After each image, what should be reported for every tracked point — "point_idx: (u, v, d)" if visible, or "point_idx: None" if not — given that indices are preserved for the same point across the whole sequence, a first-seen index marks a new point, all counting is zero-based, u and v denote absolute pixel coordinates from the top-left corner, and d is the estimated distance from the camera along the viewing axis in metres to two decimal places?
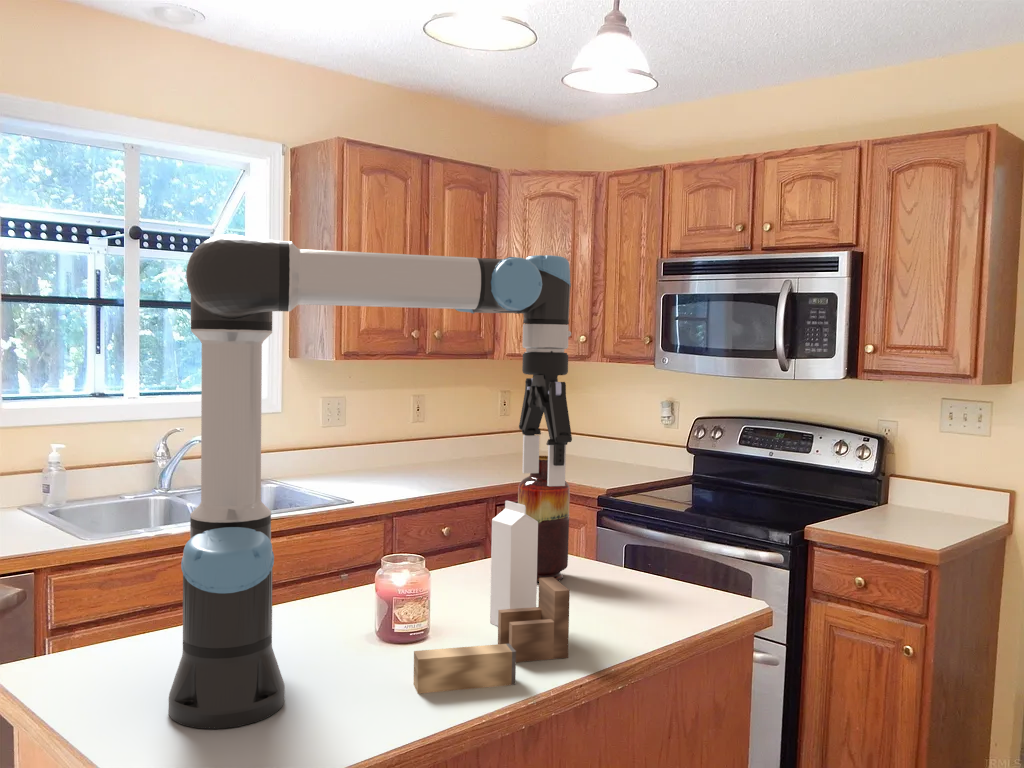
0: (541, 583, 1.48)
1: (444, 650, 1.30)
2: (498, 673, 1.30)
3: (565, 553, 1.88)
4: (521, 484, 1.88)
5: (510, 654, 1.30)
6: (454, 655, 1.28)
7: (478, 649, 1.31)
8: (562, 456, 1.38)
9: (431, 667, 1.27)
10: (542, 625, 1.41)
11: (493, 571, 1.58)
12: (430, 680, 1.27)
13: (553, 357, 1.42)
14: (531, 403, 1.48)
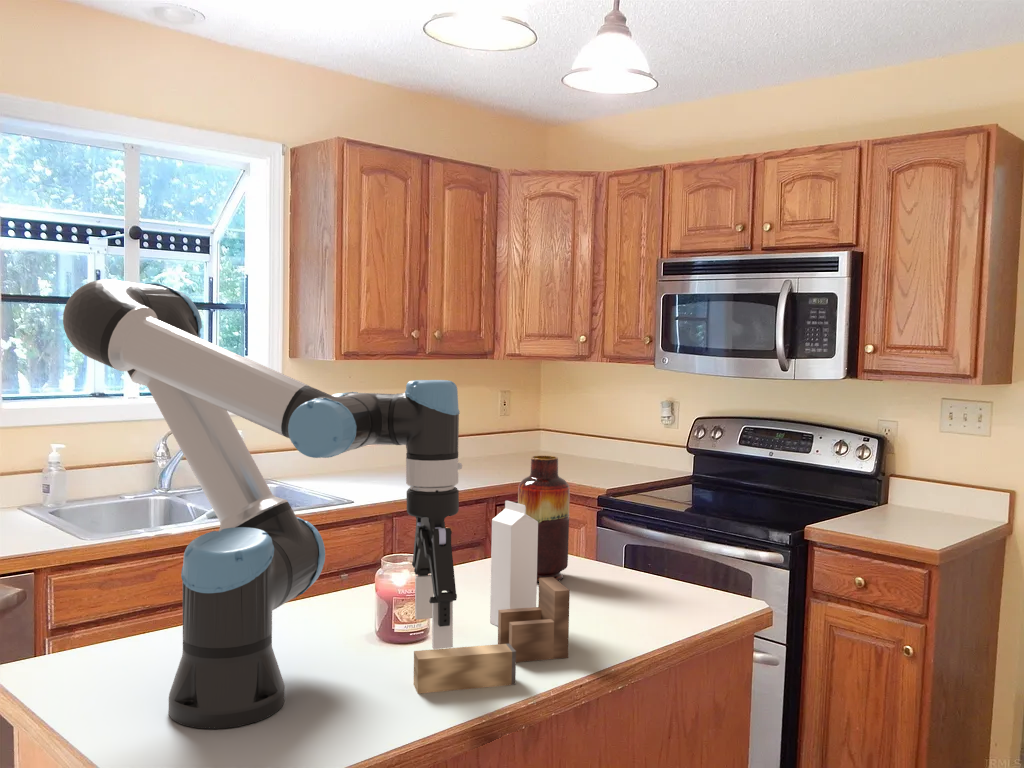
0: (541, 583, 1.48)
1: (444, 650, 1.30)
2: (498, 673, 1.30)
3: (565, 553, 1.88)
4: (521, 484, 1.88)
5: (510, 654, 1.30)
6: (454, 655, 1.28)
7: (478, 649, 1.31)
8: (447, 615, 1.20)
9: (431, 667, 1.27)
10: (542, 625, 1.41)
11: (493, 572, 1.58)
12: (430, 680, 1.27)
13: (439, 497, 1.24)
14: (419, 544, 1.30)
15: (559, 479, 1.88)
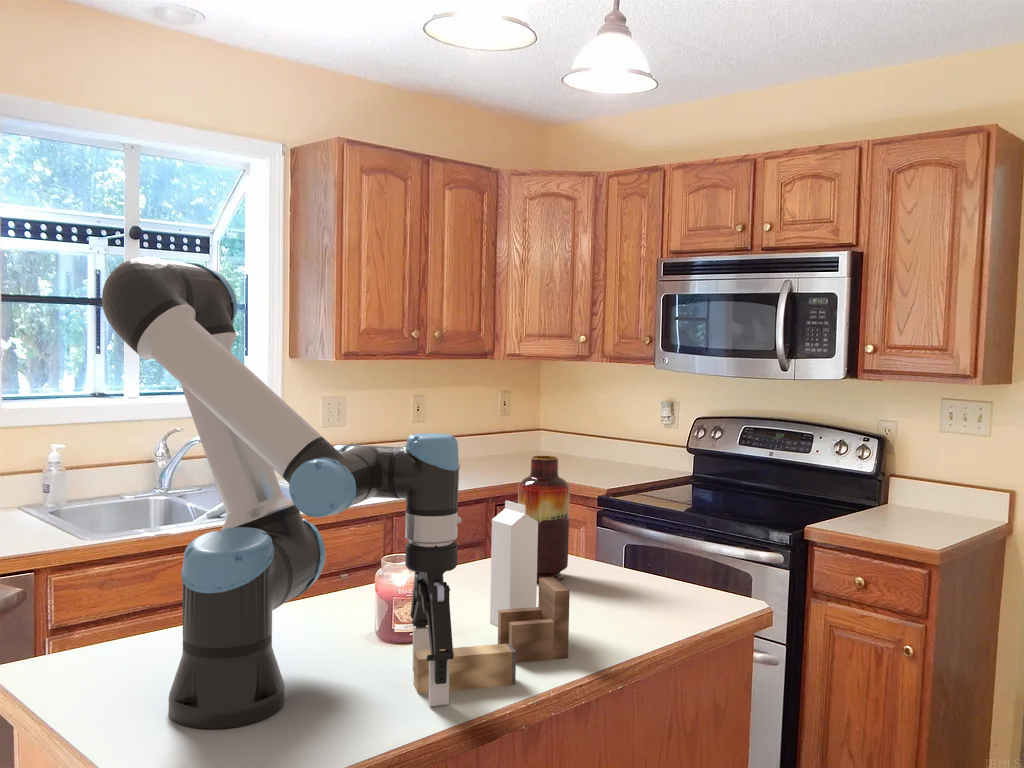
0: (541, 583, 1.48)
1: (444, 650, 1.30)
2: (498, 673, 1.30)
3: (565, 553, 1.88)
4: (521, 484, 1.88)
5: (510, 654, 1.30)
6: (454, 655, 1.28)
7: (478, 649, 1.31)
8: (444, 673, 1.21)
9: None
10: (542, 625, 1.41)
11: (493, 571, 1.58)
12: None
13: (438, 553, 1.24)
14: (418, 597, 1.30)
15: (559, 479, 1.88)
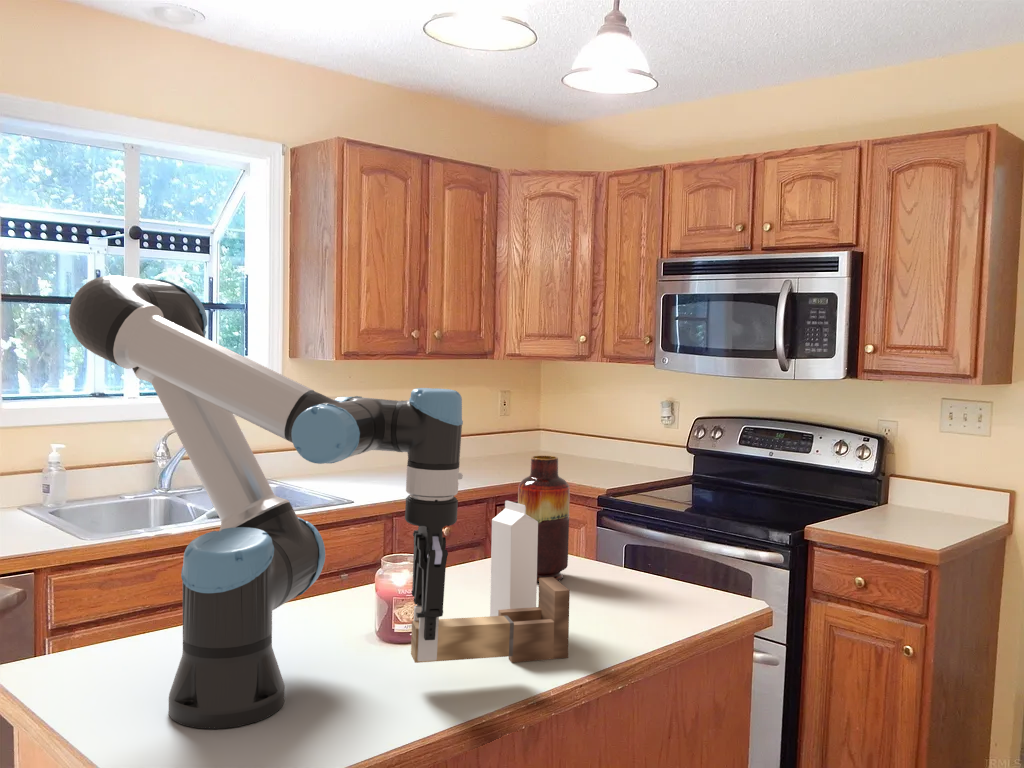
0: (541, 583, 1.48)
1: (442, 620, 1.30)
2: (495, 644, 1.30)
3: (565, 553, 1.88)
4: (521, 484, 1.88)
5: (508, 625, 1.30)
6: (452, 625, 1.28)
7: (476, 620, 1.31)
8: (433, 630, 1.25)
9: None
10: (542, 625, 1.41)
11: (493, 571, 1.58)
12: None
13: (438, 507, 1.24)
14: (417, 556, 1.29)
15: (559, 479, 1.88)
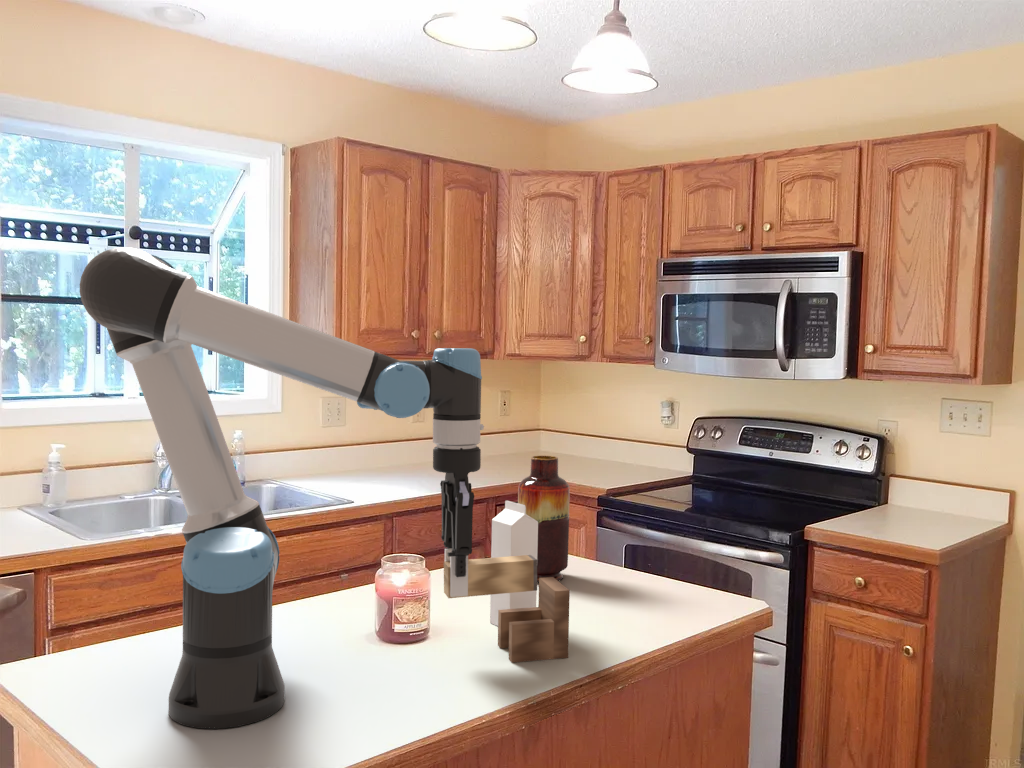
0: (541, 583, 1.48)
1: (471, 560, 1.42)
2: (521, 579, 1.42)
3: (565, 553, 1.88)
4: (521, 484, 1.88)
5: (532, 562, 1.42)
6: (481, 563, 1.40)
7: (502, 559, 1.43)
8: (463, 567, 1.37)
9: None
10: (542, 625, 1.41)
11: None
12: None
13: (463, 454, 1.36)
14: (446, 502, 1.41)
15: (559, 479, 1.88)
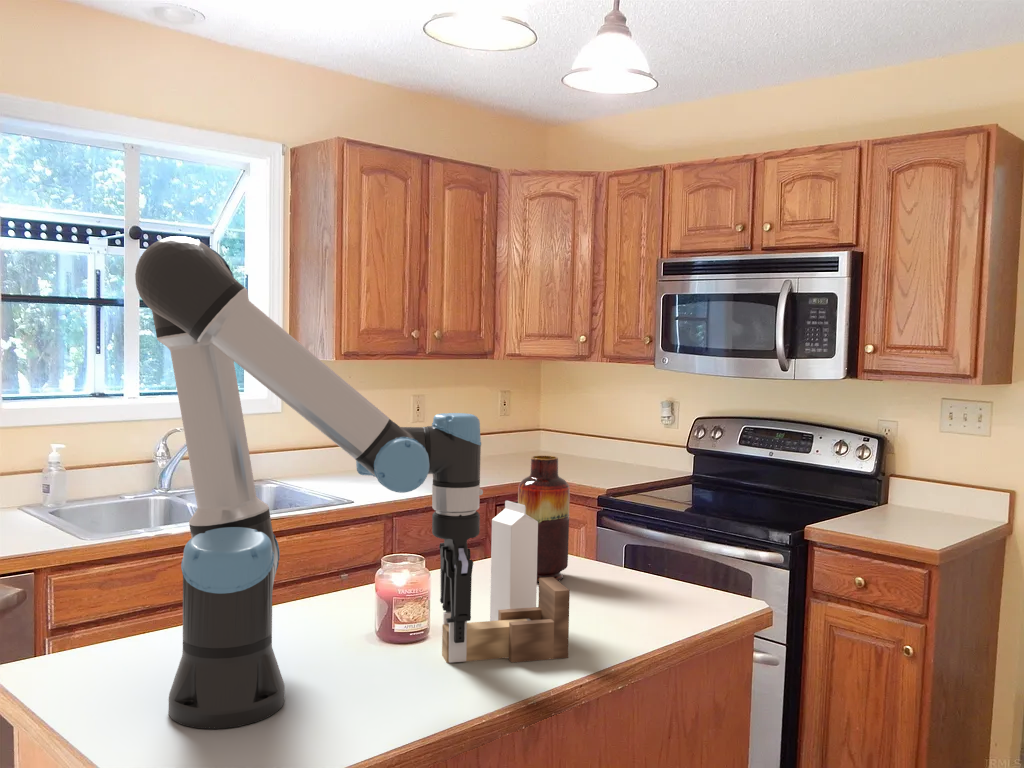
0: (541, 583, 1.48)
1: (470, 624, 1.43)
2: None
3: (565, 553, 1.88)
4: (521, 484, 1.88)
5: None
6: (479, 628, 1.41)
7: (500, 622, 1.44)
8: (462, 633, 1.38)
9: None
10: (542, 625, 1.41)
11: (493, 571, 1.58)
12: None
13: (462, 521, 1.37)
14: (445, 566, 1.41)
15: (559, 479, 1.88)
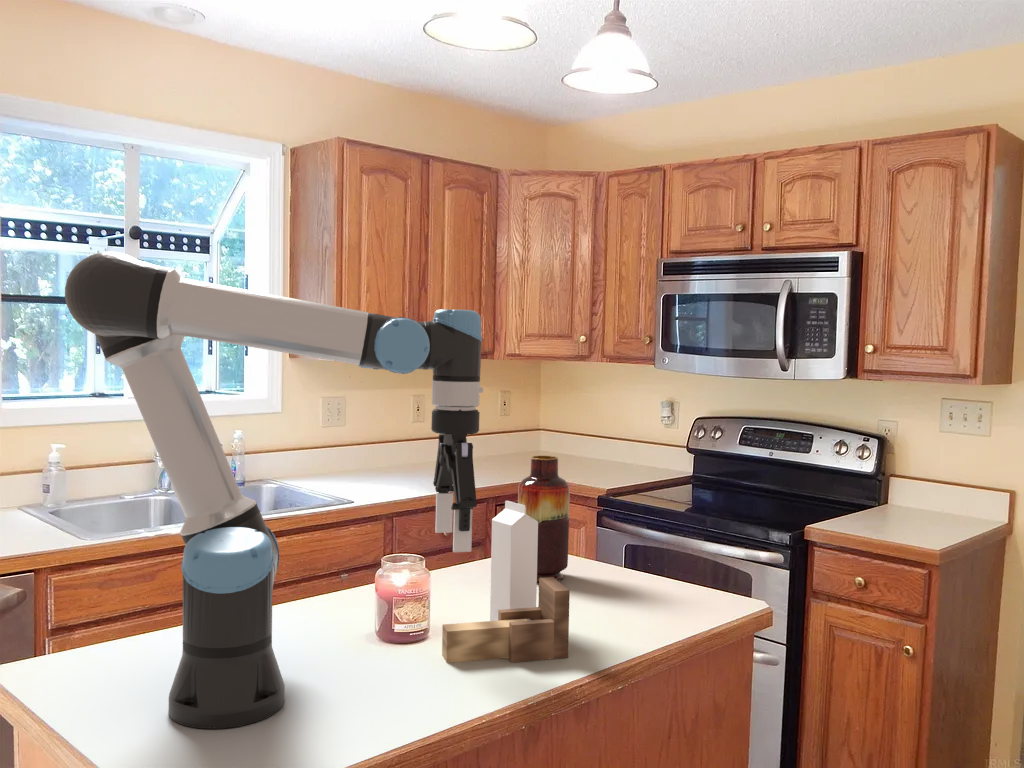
0: (541, 583, 1.48)
1: (470, 624, 1.43)
2: None
3: (565, 553, 1.88)
4: (521, 484, 1.88)
5: None
6: (479, 628, 1.41)
7: (500, 622, 1.44)
8: (467, 521, 1.32)
9: (458, 639, 1.39)
10: (542, 625, 1.41)
11: (493, 571, 1.58)
12: (457, 651, 1.39)
13: (462, 416, 1.36)
14: (442, 461, 1.42)
15: (559, 479, 1.88)
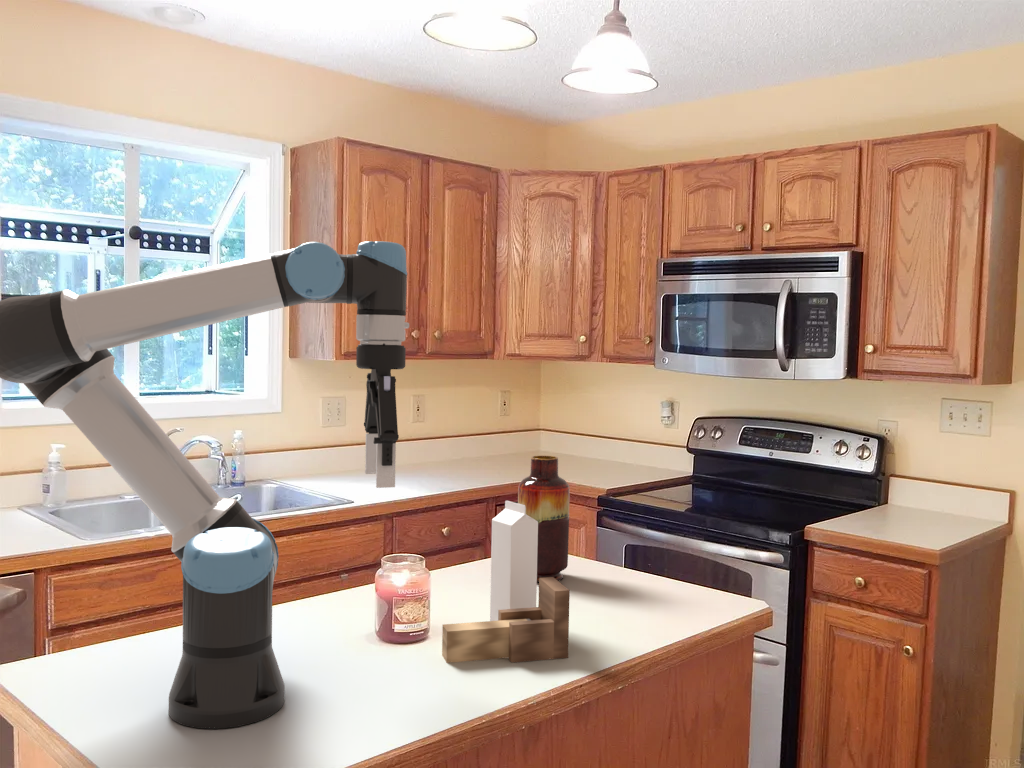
0: (541, 583, 1.48)
1: (470, 624, 1.43)
2: None
3: (565, 553, 1.88)
4: (521, 484, 1.88)
5: None
6: (479, 628, 1.41)
7: (500, 622, 1.44)
8: (390, 455, 1.29)
9: (458, 639, 1.39)
10: (542, 625, 1.41)
11: (493, 572, 1.58)
12: (458, 651, 1.39)
13: (385, 349, 1.33)
14: (369, 399, 1.39)
15: (559, 479, 1.88)
